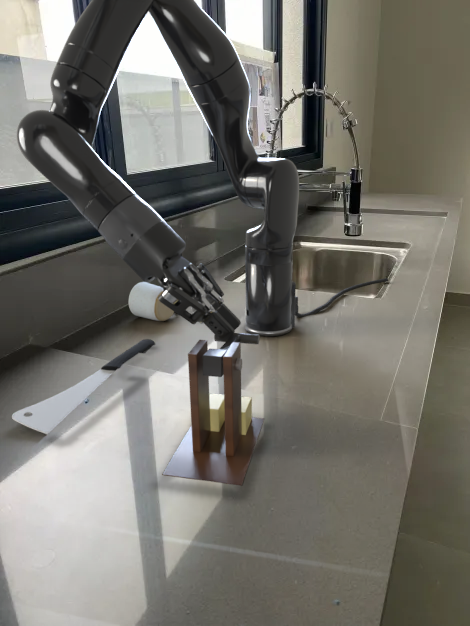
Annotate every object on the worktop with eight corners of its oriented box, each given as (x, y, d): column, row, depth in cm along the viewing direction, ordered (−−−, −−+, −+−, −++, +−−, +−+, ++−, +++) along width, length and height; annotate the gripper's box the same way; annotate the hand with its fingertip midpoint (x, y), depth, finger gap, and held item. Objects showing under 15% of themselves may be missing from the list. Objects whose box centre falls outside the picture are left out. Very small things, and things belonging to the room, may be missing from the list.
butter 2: (234, 417, 66) (233, 395, 65) (251, 418, 65) (251, 397, 64) (226, 433, 62) (226, 410, 61) (245, 435, 62) (245, 412, 61)
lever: (216, 343, 69) (216, 326, 68) (259, 346, 67) (259, 329, 67) (186, 374, 56) (186, 354, 56) (238, 378, 55) (238, 358, 54)
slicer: (199, 419, 68) (195, 324, 63) (264, 426, 66) (264, 329, 61) (162, 484, 55) (154, 370, 50) (242, 495, 53) (240, 378, 48)
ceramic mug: (157, 326, 103) (155, 290, 101) (128, 319, 108) (126, 285, 105) (188, 313, 112) (187, 280, 110) (161, 307, 116) (159, 275, 114)
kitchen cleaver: (65, 435, 63) (5, 413, 66) (66, 447, 63) (6, 424, 67) (184, 348, 90) (137, 335, 93) (183, 356, 90) (137, 343, 94)
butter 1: (209, 414, 67) (208, 393, 66) (226, 416, 66) (226, 394, 65) (200, 430, 63) (199, 407, 62) (219, 432, 62) (218, 409, 61)
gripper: (137, 226, 57) (240, 333, 58) (178, 212, 70) (262, 300, 71) (100, 269, 60) (199, 370, 61) (146, 248, 73) (227, 332, 74)
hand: (232, 332), depth 66 cm, fingers open, 3 cm apart
